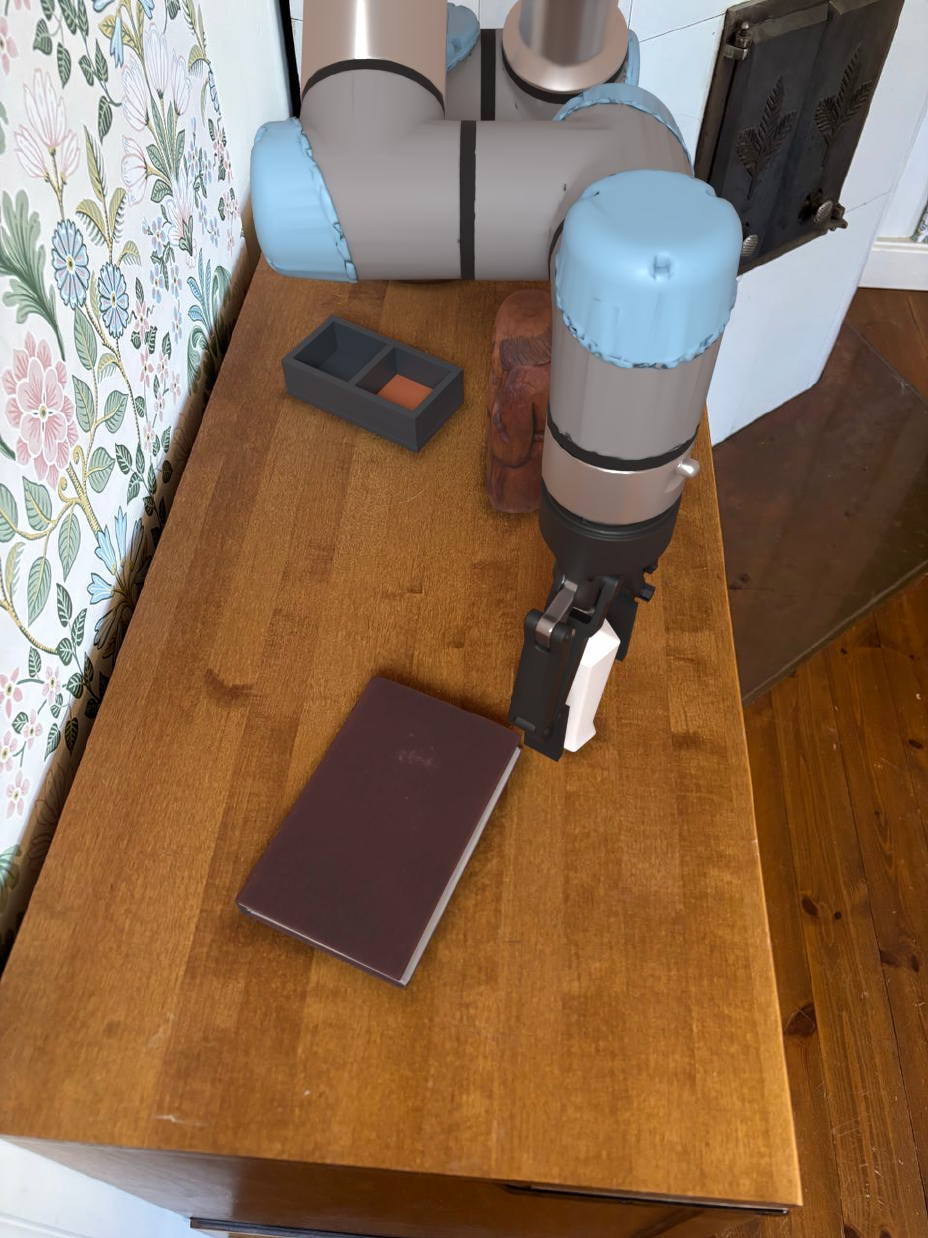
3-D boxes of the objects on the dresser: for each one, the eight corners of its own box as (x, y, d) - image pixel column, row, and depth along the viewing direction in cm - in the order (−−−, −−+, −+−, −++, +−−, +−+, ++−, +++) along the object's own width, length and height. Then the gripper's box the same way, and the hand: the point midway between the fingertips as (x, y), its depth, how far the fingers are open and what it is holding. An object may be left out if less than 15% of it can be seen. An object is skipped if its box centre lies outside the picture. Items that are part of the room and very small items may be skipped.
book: (239, 914, 65) (229, 897, 63) (375, 691, 75) (372, 668, 73) (404, 996, 62) (401, 982, 60) (524, 752, 72) (526, 731, 70)
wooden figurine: (487, 425, 93) (490, 258, 78) (554, 427, 92) (569, 260, 78) (481, 518, 86) (483, 355, 71) (554, 521, 85) (570, 357, 71)
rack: (337, 348, 99) (332, 313, 96) (463, 403, 94) (463, 368, 91) (287, 394, 95) (280, 359, 92) (417, 453, 91) (414, 418, 87)
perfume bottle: (597, 760, 72) (621, 647, 60) (538, 750, 72) (550, 635, 60) (604, 707, 74) (629, 588, 62) (547, 698, 75) (561, 578, 63)
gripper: (576, 655, 45) (547, 845, 63) (758, 386, 56) (688, 616, 74) (440, 587, 47) (450, 789, 66) (640, 342, 58) (601, 575, 76)
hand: (576, 698), depth 70 cm, fingers open, 9 cm apart
